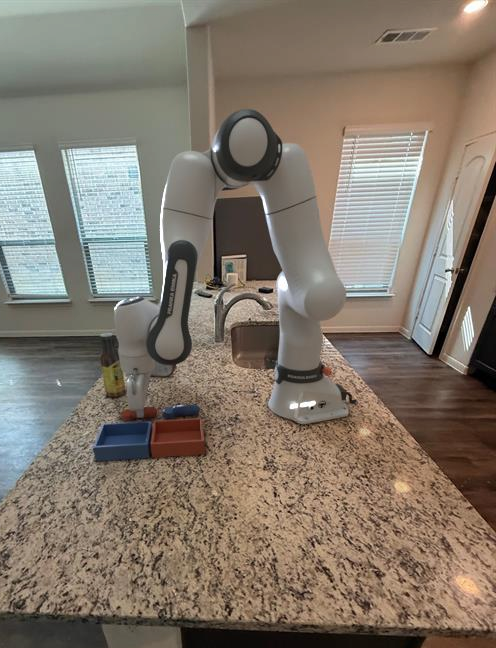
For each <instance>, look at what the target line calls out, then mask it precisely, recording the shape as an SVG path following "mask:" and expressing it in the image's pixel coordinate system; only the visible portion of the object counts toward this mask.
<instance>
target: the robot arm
mask: <svg viewBox="0 0 496 648" xmlns="http://www.w3.org/2000/svg"><path fill="white" fill-rule="evenodd" d="M249 185H252V186H253V187H254V188H255V189H256V190H257V192H258V193H259V196H260V198H261V201H262V205H263V206H262V207H263V209H264V210H263V211H264V215H265V220H266V223H267V224H266V225H267V228H268V232H269V233H268V234H269V237H270V241H271V245H272V249H273V252H274V254H275V256H276V259H277V260H278V263H279V265H280V268H281V270H282V271H280V273H279V274H278V276H277V278H276V282H275V286H276V287H275V288H276V293H277V311H278V324H279V325H278V326H279V338H278V339H279V342H278V352H277V353H278V354H277V359H276V360H275V367H274V374H273V375H274V384H273V387H272V392H271V395H270V398H269V400H268V401H267V406H268V408H269V410H270V411H271V412H272V413H274V414H275V415H277V416H279V417H281V418H285V419H288V420H291V421H293V422H295V423H297V424H300V425H308V424H314V423H319V422H324V421H325V422H326V421H329V420H335V419H339V418H345V417H346V418H347V417H348V416H349V407H348V405H347V404H346V400H347V396H348V401H349V403H351V404H354V403H357V401H358V400H357V399H353V394H352V393H350V392H349V391H347V390H346V389H345V388H344V387H343V386H342V385H341V384H336V383H335V382H333V380H331V379H330V378H329V377H330V376H332V373H333V370H332V369H330V367H328V366H326V365H325V364H324V363H322V362H321V354H322V348H323V343H324V334H323V329H322V325H321V322H323V321H328V320H331V319H333V318H335V317H336V316H337V315H338V314H340V312H341V311H342V309H343V308H344V306H345V305H346V302H347V290H346V286H345V285H344V283H343V282H342V280H341V279H340V277H339V274H338V273H337V269H336V268H335V267H336V266H335V264H334V261H333V259H332V257H331V253H330V251H329V248H328V245H327V242H326V239H325V236H324V232H323V226H322V220H321V215H320V209H319V203H318V197H317V191H316V186H315V181H314V176H313V174H312V170H311V166H310V164H309V160H308V158H307V155H306V153H305V150H304V148H303V147H302V146H301V145H300V144H298V143H294V142H284V143H283V141H282V139H281V137H280V136H278V134H277V132H275V130H274V129H273V127H272V125H271V124H270V122H269V120H267V118H266V117H265V116H264V115H263V114H262V113H260V112H259V111H258V110H255V109H252V108H243V109H239V110H236V111H234V112H233V113H231V114H230V115H228V116H227V117H226V118H225V119H224V121H223V122H222V123H221V125H220V126H219V128H218V130H217V131H216V132H215V134H214V137H213V139H212V142H211V144H210V146H209V148H208V150H206V151H202V152H199V151H196V150H184V151H181V152H178V154H177V155H175V156H174V158H173V159H172V161H171V163H170V167H169V171H168V174H167V178H166V182H165V187H164V191H163V196H162V202H161V210H160V221H159V222H160V223H159V224H160V225H159V228H160V229H159V231H160V232H159V233H160V235H159V236H160V237H159V238H160V247H161V254H162V262H163V282H162V289H161V298H160V305H159V304H156V303H155V302H152V301H150V300H149V299H147V298H146V297H144V296H132V297H128V298H127V297H126V298H125V299H123V300H121V301H119V302H118V303H117V304H116V306H115V307H114V310H113V311H114V313H113V320H114V323H113V324H114V332H115V338H116V339H117V342H118V349H117V352H118V354H119V360H120V367H121V370H122V371H123V374H124V373H125V374H126V376H127V377H128V378H127V381H126V395H127V397H126V398H127V405H128V409H130V410H131V411H136V413H137V417H138V418H137V419H143V418H142V417H144V407H145V404H146V400H147V399H148V397H149V396H148V394H149V393H148V390H149V385H150V380H151V377H152V376H151V370H153V369H154V368H155V361H156V362H158V363H160V364H163V365H176V366H177V365H179V364H182V363H183V362H184V361H185V360H187V358H188V357H189V356H190V354H191V352H192V348H193V340H192V337H191V333H190V328H189V327H190V326H189V316H190V315H189V314H190V310H191V303H192V297H193V296H192V295H193V290H194V283H195V279H196V275H197V272H198V269H199V266H200V263H201V261H202V258H203V255H204V252H205V250H206V247H207V244H208V242H209V237H210V235H211V234H210V233H211V229H212V225H213V220H214V219H213V218H214V213H215V206H216V203H217V200H218V197H219V196H220V194H221V192H222V191H233V190H237V189H241V188H243V187H247V186H249Z"/></svg>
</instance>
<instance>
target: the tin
mask: <svg viewBox="0 0 496 648" xmlns="http://www.w3.org/2000/svg"><path fill="white" fill-rule="evenodd" d="M176 370H177V364H176V365H163V364H160V363H158V362H156V361H155V368H154V369H153V370H151V376H150V377H157V378H158V377H160V378H168V377H171V376H172V375H173V374H174V372H175V371H176Z"/></svg>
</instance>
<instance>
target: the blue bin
mask: <svg viewBox="0 0 496 648" xmlns="http://www.w3.org/2000/svg"><path fill="white" fill-rule="evenodd" d="M152 430H153V424H152V420H144V421H143V420H142V421H123V422H110V423H109V422H108V423H107V422H106V423H102V424H101V426H100V429H99V430H98V433H97V435H96V439H95V441H94V444H93V447H92V450H93V454H94V458H95V462H106V461H107V462H109V461H122V460H138V459H149V458H151V437H152Z"/></svg>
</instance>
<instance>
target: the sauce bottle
mask: <svg viewBox="0 0 496 648" xmlns="http://www.w3.org/2000/svg"><path fill="white" fill-rule="evenodd" d="M99 340H100V343H101V349H102V350H101V352H100V356H99V361H100V368H101V373H102V378H103V385H104V390H105V394H106V396H107V397H109V398H118V397H121V396H123V395H124V394H125V393H126V383H125V376H124V372H123V371H122V370H121V367H120V360H119V353H118V349H117V348H116V344H115V335H114V333H113V332H103V333H101V334H100V335H99Z"/></svg>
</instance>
